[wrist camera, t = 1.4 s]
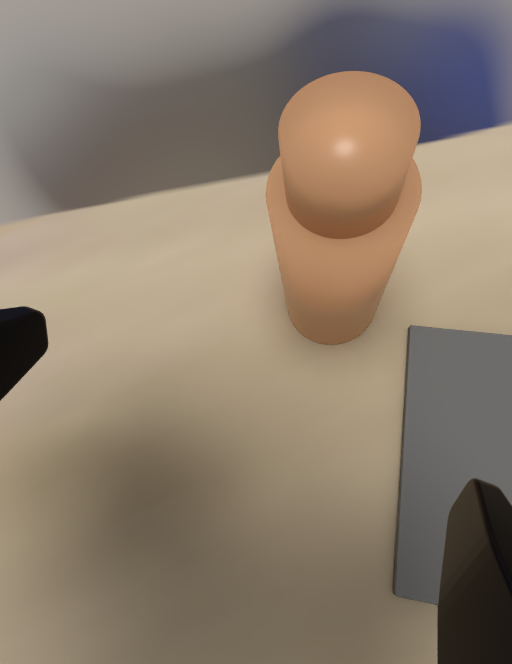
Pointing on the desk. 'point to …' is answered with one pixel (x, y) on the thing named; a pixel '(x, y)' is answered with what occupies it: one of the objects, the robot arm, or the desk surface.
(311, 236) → the peach capped bottle
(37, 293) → the desk surface
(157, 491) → the desk surface
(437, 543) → the mat
